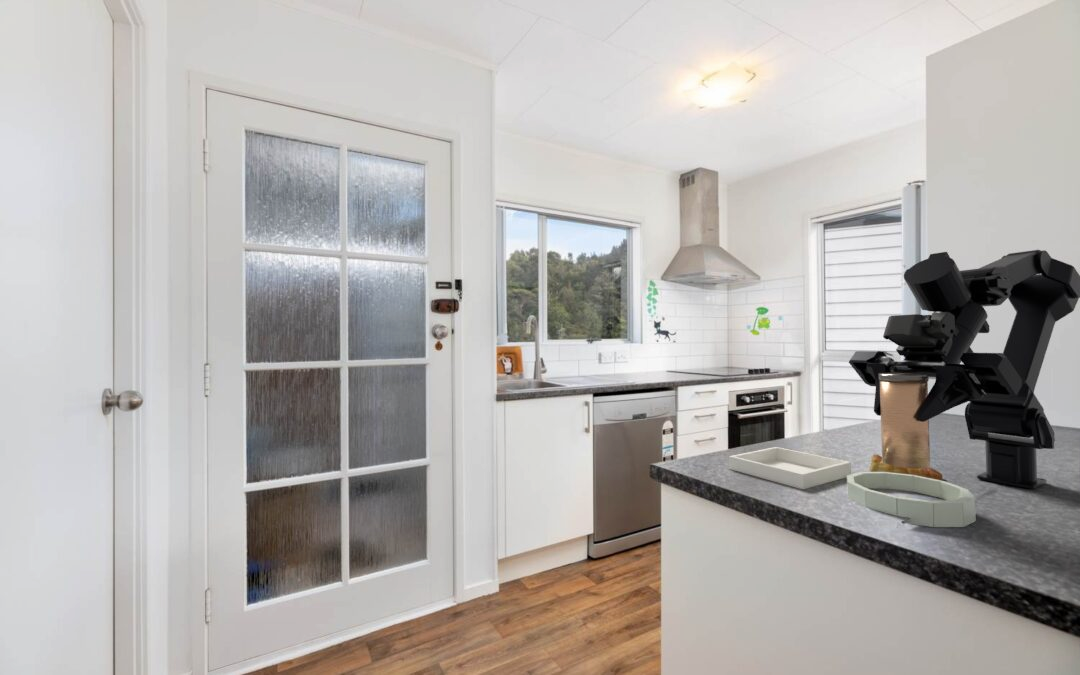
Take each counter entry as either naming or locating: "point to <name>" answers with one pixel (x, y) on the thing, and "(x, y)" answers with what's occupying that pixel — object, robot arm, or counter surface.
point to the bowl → (920, 512)
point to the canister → (904, 420)
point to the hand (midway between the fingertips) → (897, 416)
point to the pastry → (902, 469)
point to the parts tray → (790, 467)
